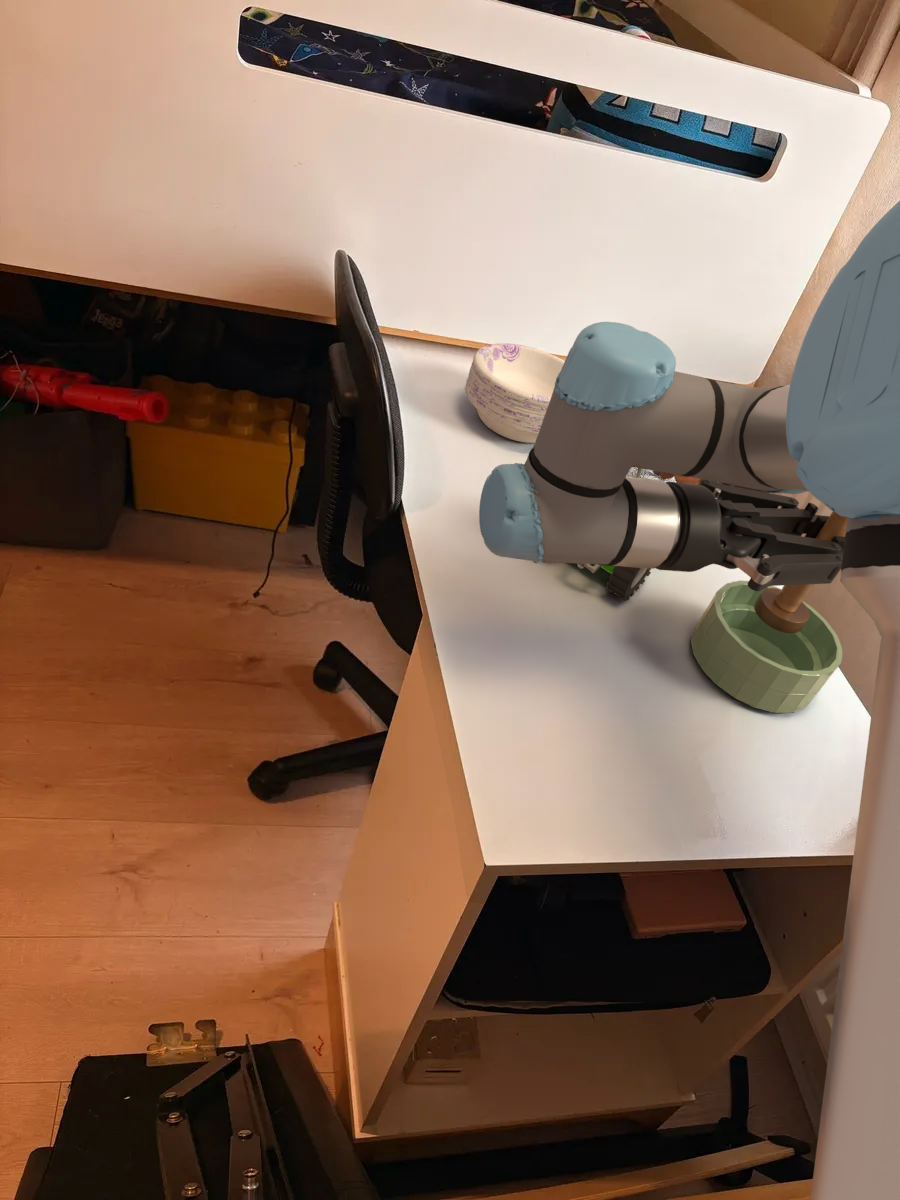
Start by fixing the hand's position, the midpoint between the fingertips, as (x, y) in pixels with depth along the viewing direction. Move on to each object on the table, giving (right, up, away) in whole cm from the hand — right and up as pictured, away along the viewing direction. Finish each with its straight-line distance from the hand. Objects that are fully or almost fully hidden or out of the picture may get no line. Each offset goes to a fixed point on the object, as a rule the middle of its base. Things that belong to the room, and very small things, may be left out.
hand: (876, 544), depth 84 cm
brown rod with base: (-8, -7, +4) cm, 11 cm away
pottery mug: (-12, +7, +30) cm, 33 cm away
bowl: (-9, -12, +8) cm, 17 cm away
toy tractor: (-23, -1, +16) cm, 28 cm away
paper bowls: (-31, +18, +34) cm, 49 cm away
